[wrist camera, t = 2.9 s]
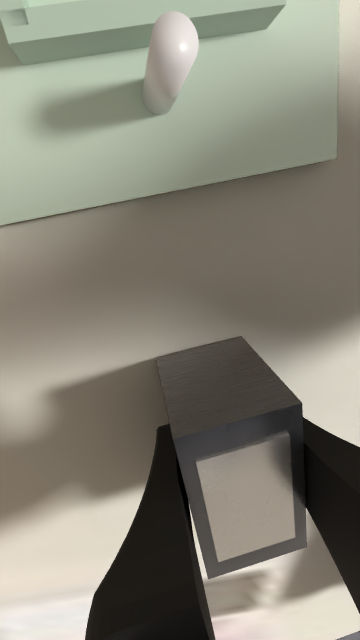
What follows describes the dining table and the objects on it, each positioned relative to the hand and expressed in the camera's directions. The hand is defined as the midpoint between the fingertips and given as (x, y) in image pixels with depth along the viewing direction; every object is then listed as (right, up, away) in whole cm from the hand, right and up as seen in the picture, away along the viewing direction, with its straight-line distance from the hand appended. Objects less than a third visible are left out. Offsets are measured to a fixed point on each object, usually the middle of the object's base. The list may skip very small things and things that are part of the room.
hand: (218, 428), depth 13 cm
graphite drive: (0, +1, +1) cm, 1 cm away
